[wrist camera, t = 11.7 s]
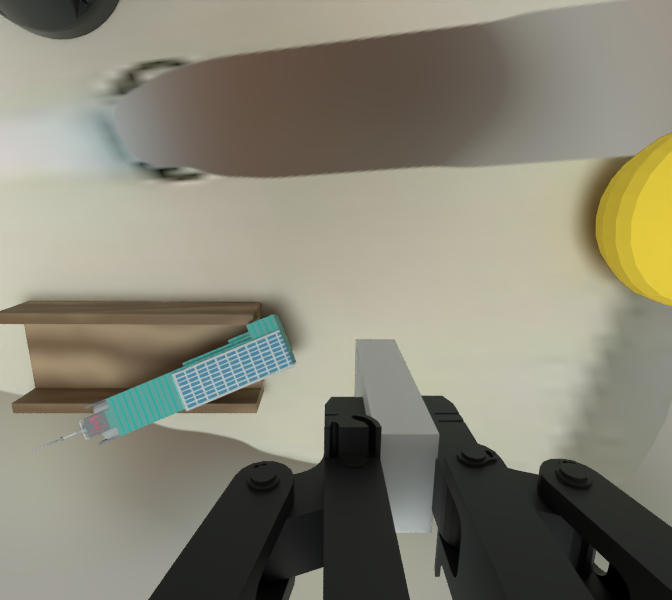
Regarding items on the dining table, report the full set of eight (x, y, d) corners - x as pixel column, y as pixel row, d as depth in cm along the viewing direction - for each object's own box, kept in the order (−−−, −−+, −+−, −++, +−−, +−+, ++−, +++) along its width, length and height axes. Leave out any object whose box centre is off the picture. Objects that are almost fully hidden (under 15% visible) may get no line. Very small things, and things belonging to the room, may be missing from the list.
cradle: (29, 300, 50) (-7, 313, 45) (260, 302, 51) (252, 314, 45) (45, 391, 53) (13, 413, 48) (263, 391, 54) (256, 413, 48)
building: (297, 360, 50) (61, 460, 48) (278, 314, 50) (43, 412, 49) (293, 366, 44) (24, 479, 42) (272, 314, 44) (3, 425, 43)
